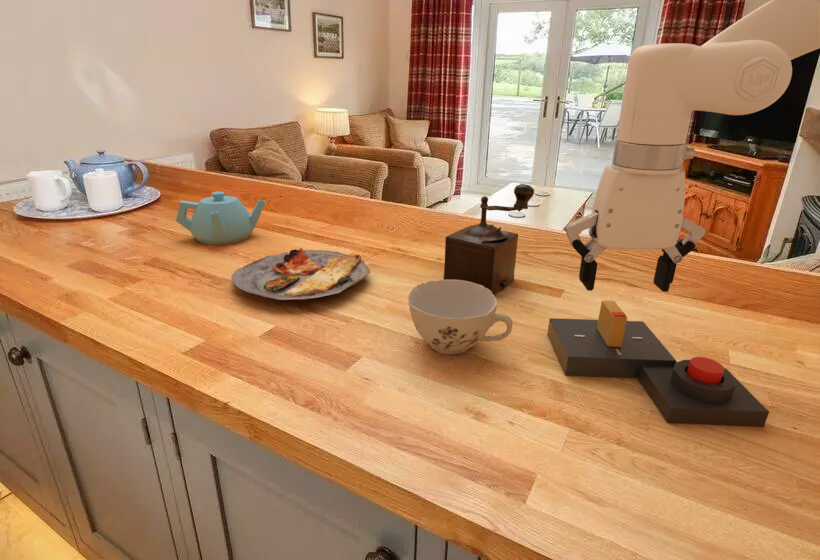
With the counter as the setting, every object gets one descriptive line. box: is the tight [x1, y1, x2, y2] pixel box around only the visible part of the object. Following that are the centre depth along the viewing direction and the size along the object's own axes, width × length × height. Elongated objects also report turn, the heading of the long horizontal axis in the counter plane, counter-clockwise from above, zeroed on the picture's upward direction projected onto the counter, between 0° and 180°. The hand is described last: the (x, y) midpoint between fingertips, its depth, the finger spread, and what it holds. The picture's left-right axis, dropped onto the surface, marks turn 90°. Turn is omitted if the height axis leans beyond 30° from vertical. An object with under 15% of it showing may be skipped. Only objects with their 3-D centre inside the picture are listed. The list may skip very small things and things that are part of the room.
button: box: [687, 356, 725, 384], centre depth 59 cm, size 4×4×2 cm
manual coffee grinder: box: [443, 183, 535, 295], centre depth 93 cm, size 16×11×18 cm
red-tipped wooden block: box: [597, 300, 628, 347], centre depth 68 cm, size 5×2×5 cm, turn 177°
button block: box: [637, 359, 770, 428], centre depth 60 cm, size 11×9×4 cm
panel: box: [546, 317, 677, 380], centre depth 70 cm, size 14×11×3 cm
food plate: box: [231, 247, 371, 301], centre depth 92 cm, size 25×23×4 cm
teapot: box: [175, 191, 266, 246], centre depth 115 cm, size 15×15×11 cm
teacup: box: [407, 279, 513, 355], centre depth 70 cm, size 15×12×8 cm
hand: (623, 287), depth 66 cm, fingers open, 9 cm apart
